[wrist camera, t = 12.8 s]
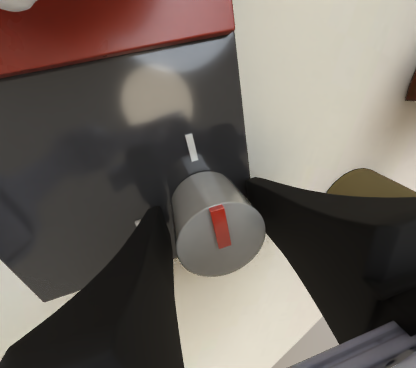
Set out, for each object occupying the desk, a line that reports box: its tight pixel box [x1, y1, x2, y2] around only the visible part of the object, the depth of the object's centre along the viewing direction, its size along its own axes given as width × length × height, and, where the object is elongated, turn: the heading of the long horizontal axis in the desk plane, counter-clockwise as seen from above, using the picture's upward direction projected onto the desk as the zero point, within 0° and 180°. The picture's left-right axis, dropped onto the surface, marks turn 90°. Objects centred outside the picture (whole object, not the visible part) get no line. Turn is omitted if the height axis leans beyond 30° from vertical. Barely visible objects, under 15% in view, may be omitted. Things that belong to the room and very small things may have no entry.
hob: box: [0, 31, 250, 302], centre depth 9 cm, size 15×21×2 cm
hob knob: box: [171, 171, 266, 277], centre depth 9 cm, size 4×4×4 cm
